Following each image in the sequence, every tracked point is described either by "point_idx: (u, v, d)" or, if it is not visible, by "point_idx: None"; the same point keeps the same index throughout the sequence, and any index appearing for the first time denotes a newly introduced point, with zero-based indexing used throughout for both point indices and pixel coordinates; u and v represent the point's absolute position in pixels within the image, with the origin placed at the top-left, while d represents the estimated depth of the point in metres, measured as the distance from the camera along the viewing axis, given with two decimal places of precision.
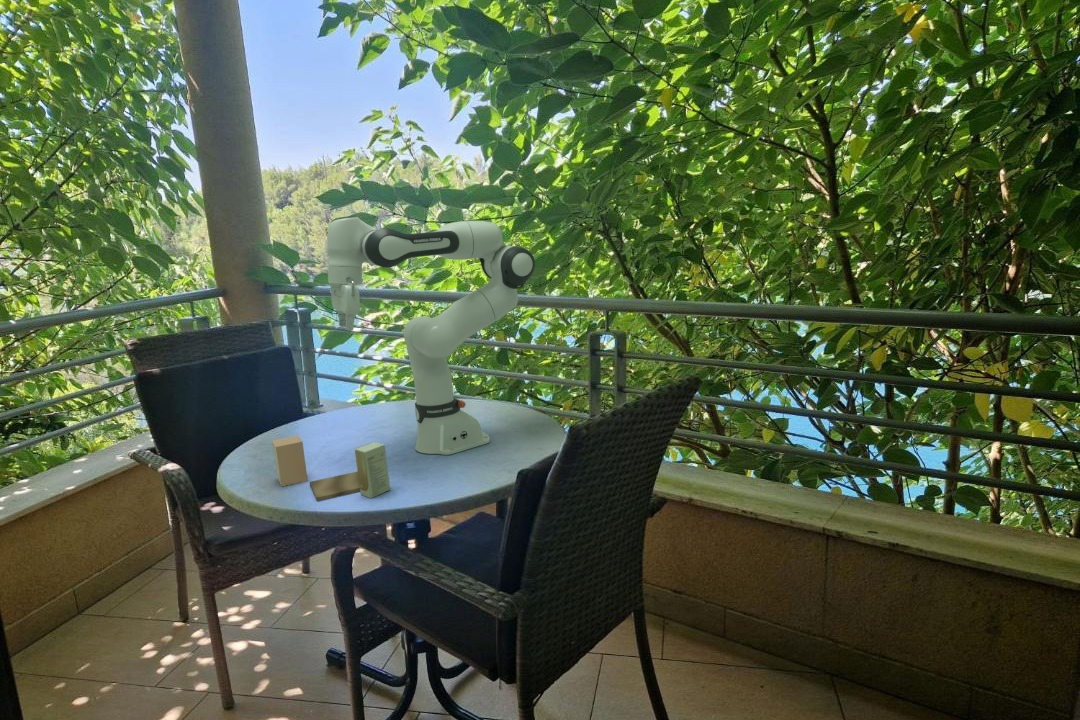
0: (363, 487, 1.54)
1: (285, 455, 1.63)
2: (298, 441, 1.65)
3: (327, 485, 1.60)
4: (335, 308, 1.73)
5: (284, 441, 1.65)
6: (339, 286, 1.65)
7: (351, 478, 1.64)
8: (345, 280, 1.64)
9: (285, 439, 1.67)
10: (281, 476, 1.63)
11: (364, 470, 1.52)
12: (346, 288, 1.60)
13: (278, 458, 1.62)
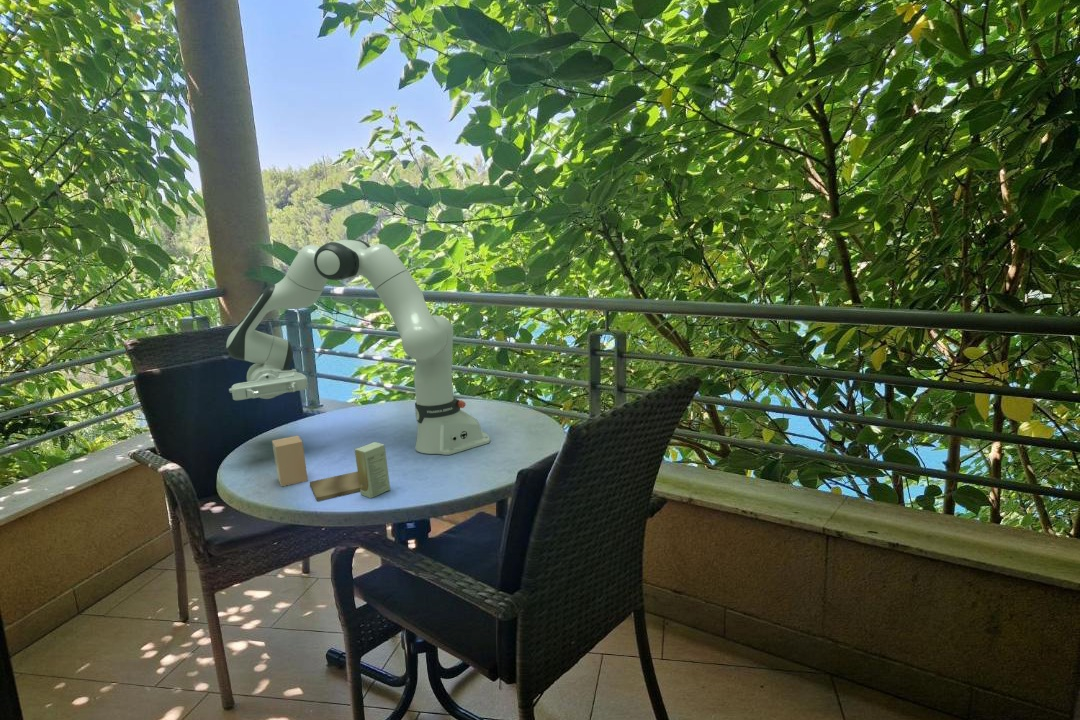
0: (363, 487, 1.54)
1: (285, 455, 1.63)
2: (298, 441, 1.65)
3: (327, 485, 1.60)
4: None
5: (284, 441, 1.65)
6: None
7: (351, 478, 1.64)
8: None
9: (285, 439, 1.67)
10: (281, 476, 1.63)
11: (364, 470, 1.52)
12: None
13: (278, 458, 1.62)
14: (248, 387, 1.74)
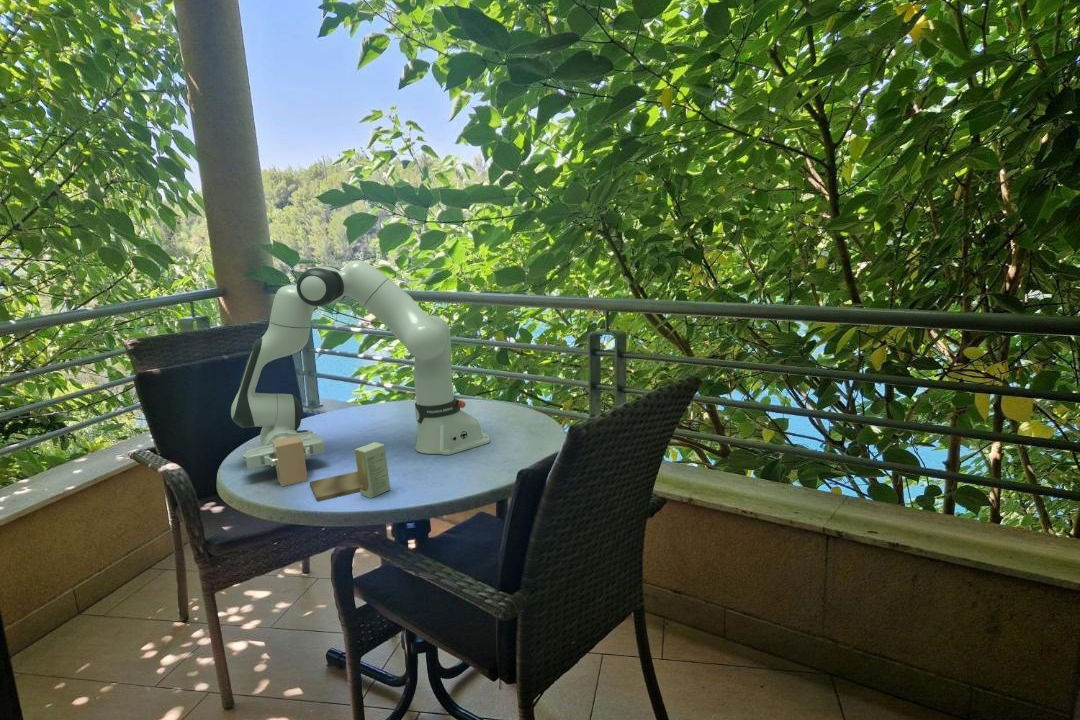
0: (363, 487, 1.54)
1: (285, 455, 1.63)
2: (298, 441, 1.65)
3: (327, 485, 1.60)
4: None
5: (284, 441, 1.65)
6: None
7: (351, 478, 1.64)
8: None
9: (285, 439, 1.67)
10: (281, 476, 1.63)
11: (364, 470, 1.52)
12: None
13: (278, 458, 1.62)
14: (263, 454, 1.67)
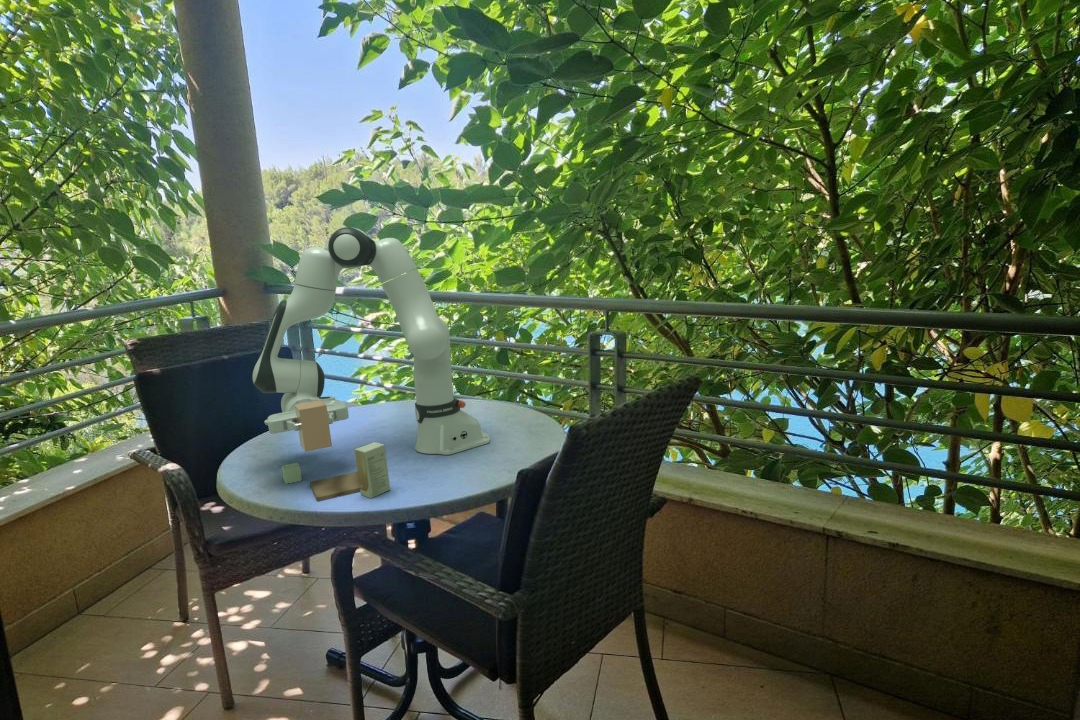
0: (363, 487, 1.54)
1: (309, 419, 1.57)
2: (321, 405, 1.59)
3: (327, 485, 1.60)
4: None
5: (307, 405, 1.59)
6: None
7: (351, 478, 1.64)
8: None
9: (308, 403, 1.61)
10: (305, 441, 1.57)
11: (364, 470, 1.52)
12: None
13: (301, 422, 1.56)
14: (285, 419, 1.61)
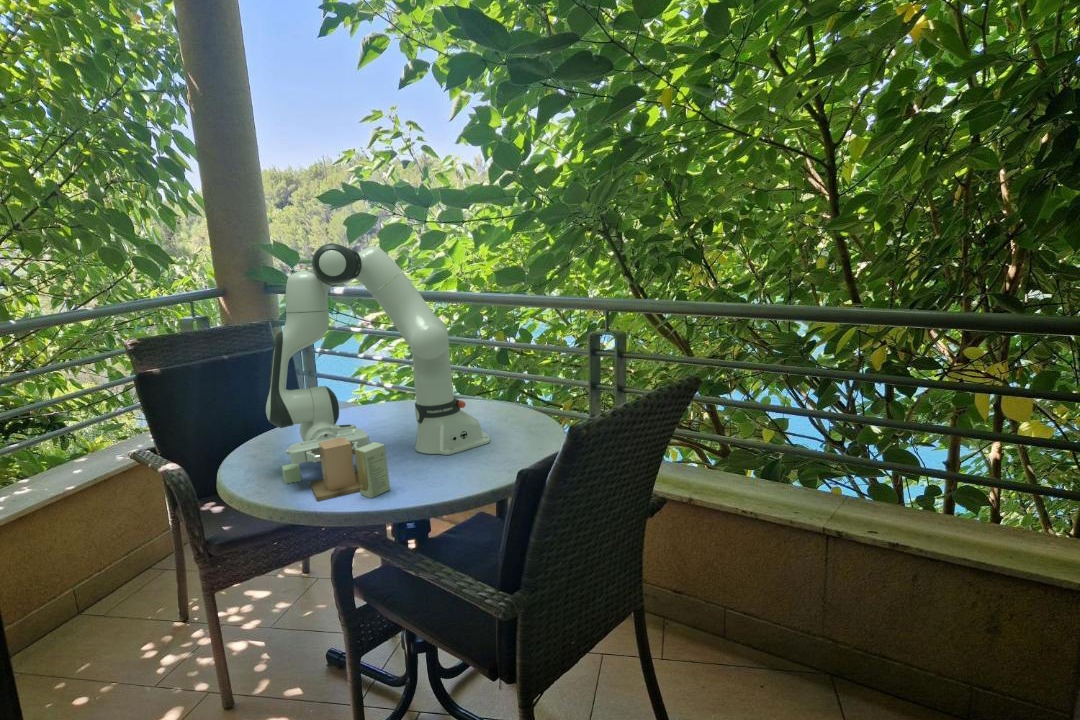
0: (363, 487, 1.54)
1: (333, 458, 1.56)
2: (346, 443, 1.58)
3: None
4: None
5: (331, 443, 1.58)
6: None
7: None
8: None
9: (332, 441, 1.60)
10: (329, 479, 1.56)
11: (364, 470, 1.52)
12: None
13: (326, 461, 1.55)
14: (308, 449, 1.59)
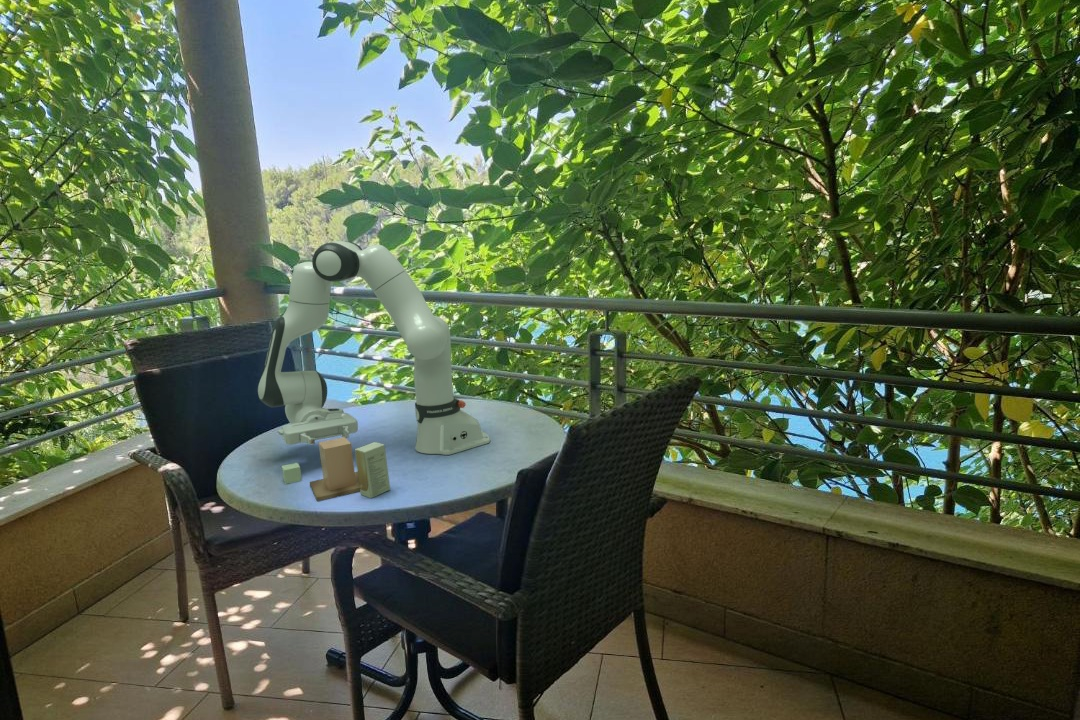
0: (363, 487, 1.54)
1: (333, 458, 1.56)
2: (346, 443, 1.58)
3: None
4: None
5: (331, 443, 1.58)
6: None
7: None
8: None
9: (332, 441, 1.60)
10: (329, 479, 1.56)
11: (364, 470, 1.52)
12: None
13: (326, 461, 1.55)
14: (302, 431, 1.70)
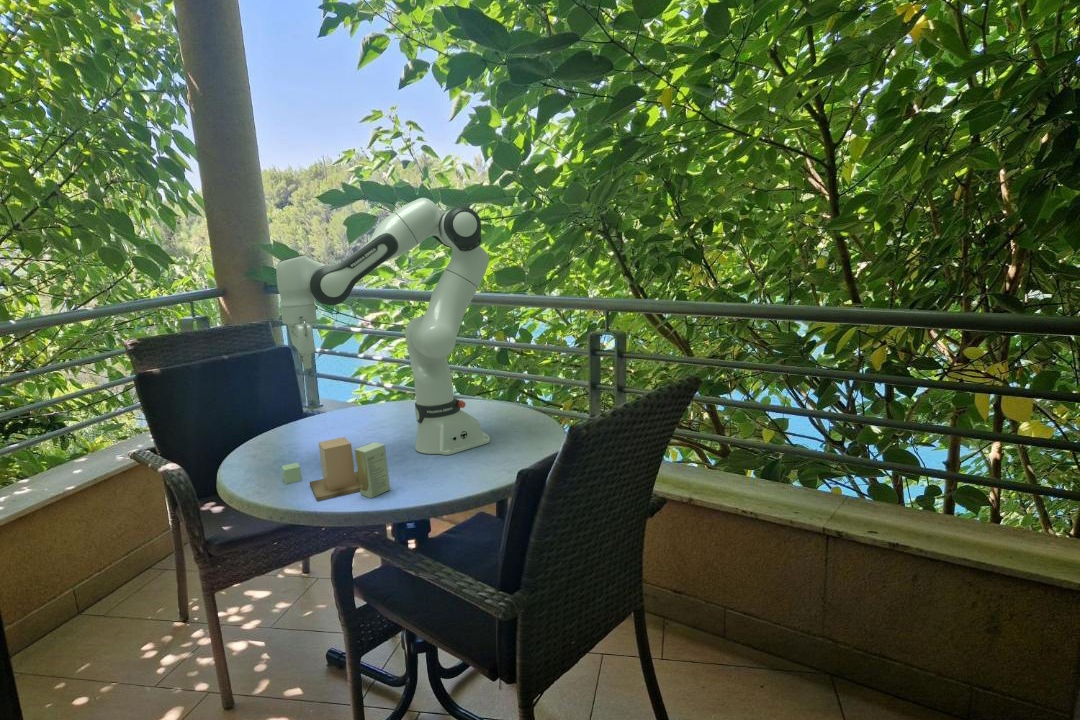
0: (363, 487, 1.54)
1: (333, 458, 1.56)
2: (346, 443, 1.58)
3: None
4: (294, 345, 1.75)
5: (331, 443, 1.58)
6: (293, 326, 1.67)
7: None
8: (298, 320, 1.66)
9: (332, 441, 1.60)
10: (329, 479, 1.56)
11: (364, 470, 1.52)
12: (299, 329, 1.62)
13: (326, 461, 1.55)
14: None
